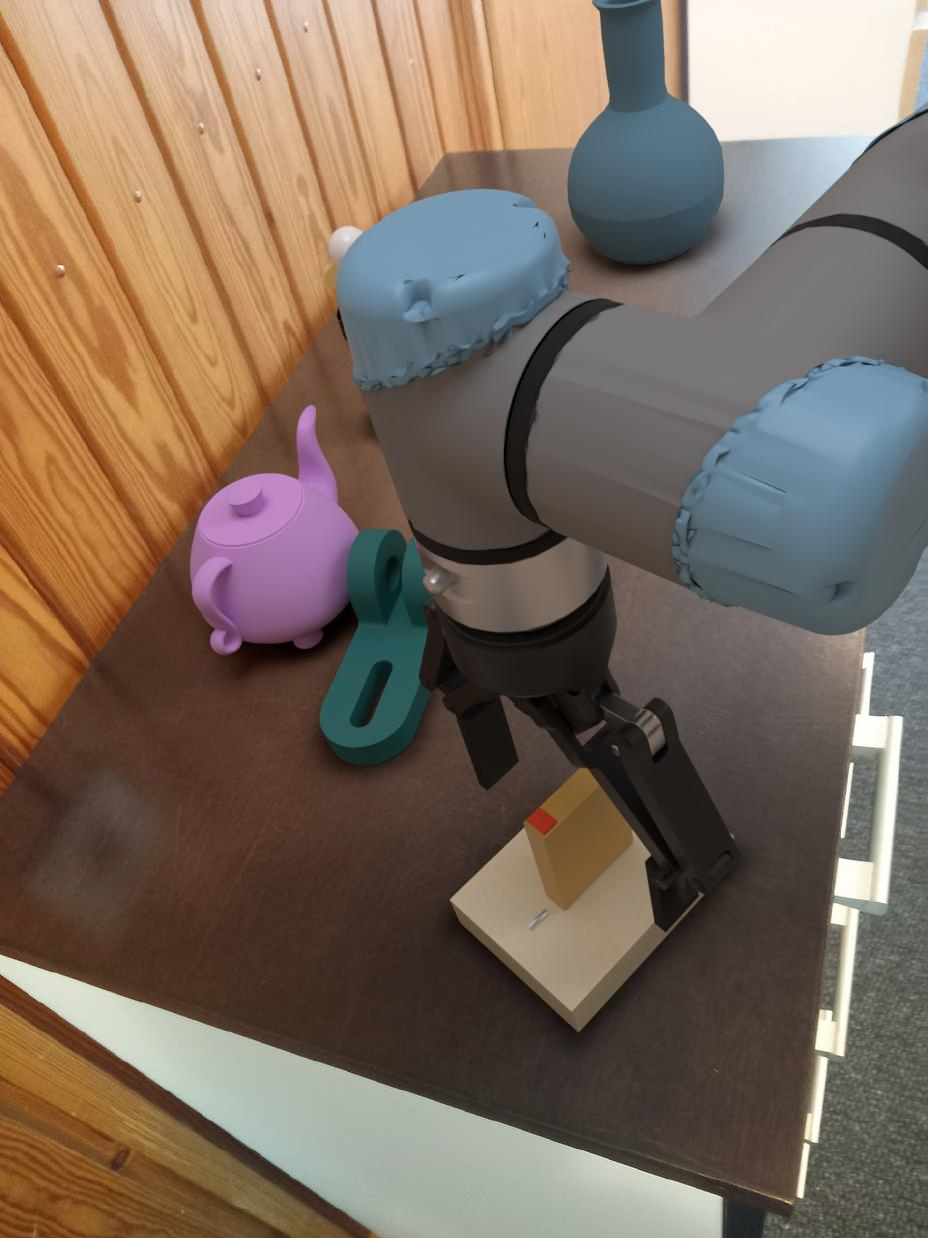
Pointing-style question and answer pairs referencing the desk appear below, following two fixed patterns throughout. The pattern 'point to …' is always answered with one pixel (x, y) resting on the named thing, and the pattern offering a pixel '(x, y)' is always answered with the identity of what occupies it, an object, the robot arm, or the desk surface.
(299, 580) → the teapot
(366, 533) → the bracket
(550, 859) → the tan box with red
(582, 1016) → the lock plate
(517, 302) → the robot arm
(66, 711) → the desk surface
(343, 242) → the perfume bottle
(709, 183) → the vase
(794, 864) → the desk surface
